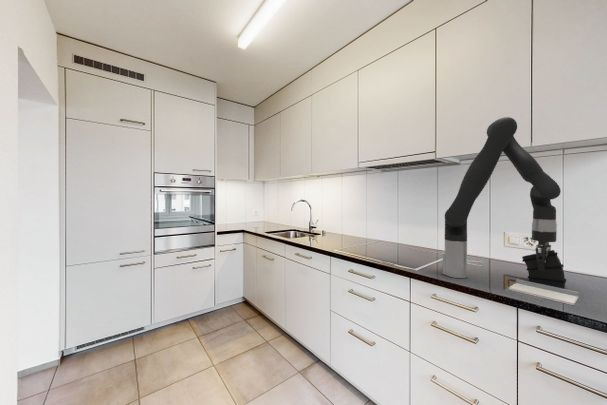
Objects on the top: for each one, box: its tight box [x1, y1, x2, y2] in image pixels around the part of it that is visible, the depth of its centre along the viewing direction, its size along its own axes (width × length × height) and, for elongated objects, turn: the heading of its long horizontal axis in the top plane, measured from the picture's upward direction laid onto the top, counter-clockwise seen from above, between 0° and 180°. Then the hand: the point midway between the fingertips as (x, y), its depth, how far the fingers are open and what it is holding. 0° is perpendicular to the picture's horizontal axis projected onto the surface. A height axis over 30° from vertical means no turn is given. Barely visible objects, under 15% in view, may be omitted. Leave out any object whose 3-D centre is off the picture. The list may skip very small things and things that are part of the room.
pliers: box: [467, 260, 486, 267], centre depth 141 cm, size 10×2×15 cm
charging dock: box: [508, 278, 580, 306], centre depth 96 cm, size 18×10×2 cm, turn 35°
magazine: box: [521, 249, 567, 289], centre depth 105 cm, size 4×13×15 cm, turn 36°
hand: (543, 269), depth 105 cm, fingers closed on magazine, 3 cm apart
